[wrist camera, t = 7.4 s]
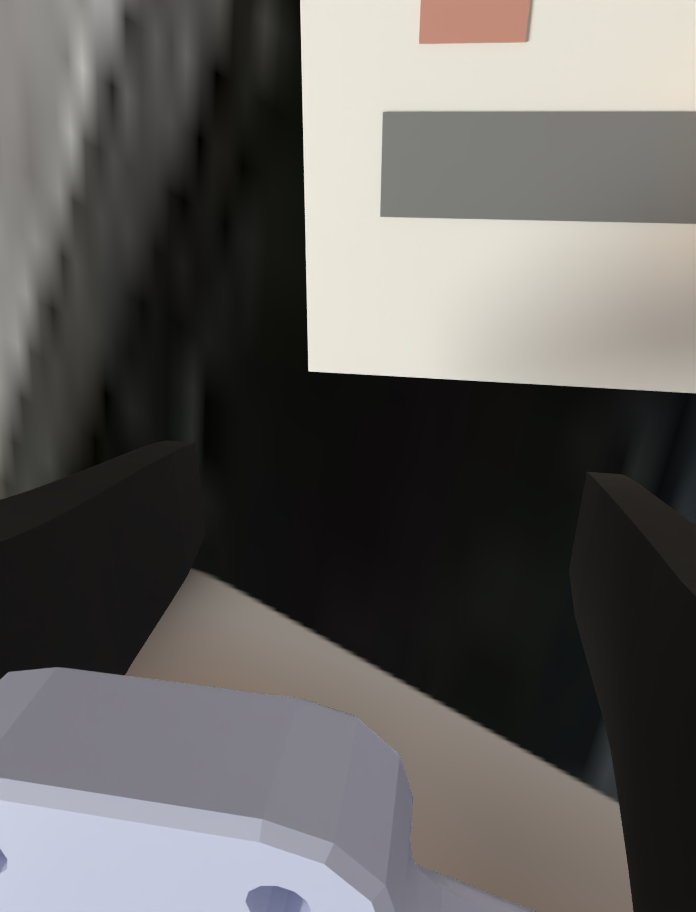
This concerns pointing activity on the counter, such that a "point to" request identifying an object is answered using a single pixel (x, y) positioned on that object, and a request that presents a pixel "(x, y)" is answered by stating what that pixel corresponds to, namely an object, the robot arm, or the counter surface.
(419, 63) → the panel
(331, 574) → the counter surface
